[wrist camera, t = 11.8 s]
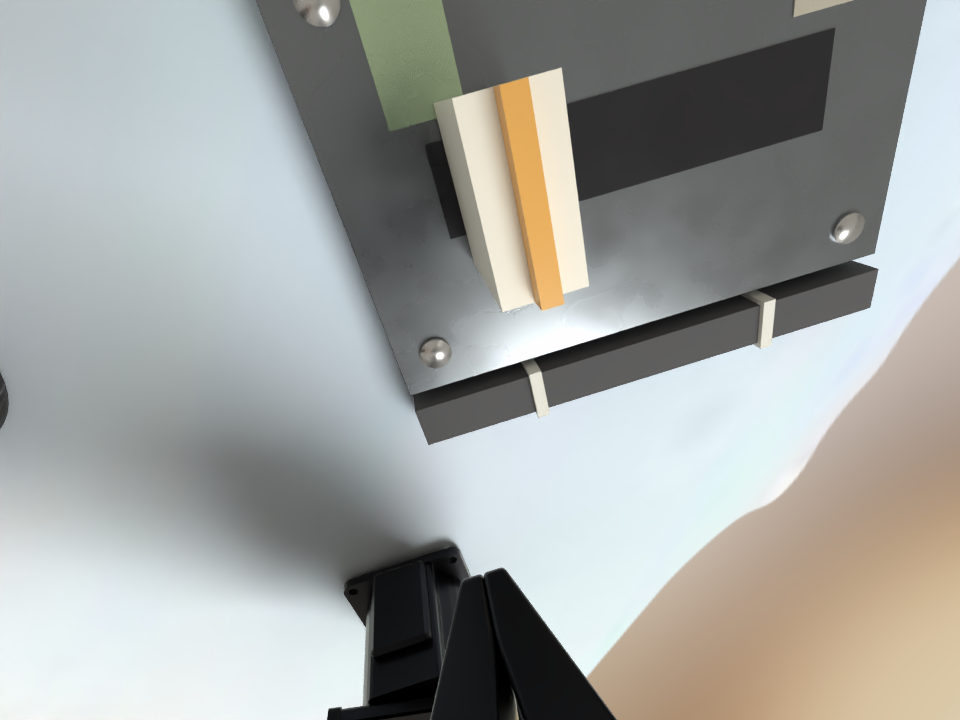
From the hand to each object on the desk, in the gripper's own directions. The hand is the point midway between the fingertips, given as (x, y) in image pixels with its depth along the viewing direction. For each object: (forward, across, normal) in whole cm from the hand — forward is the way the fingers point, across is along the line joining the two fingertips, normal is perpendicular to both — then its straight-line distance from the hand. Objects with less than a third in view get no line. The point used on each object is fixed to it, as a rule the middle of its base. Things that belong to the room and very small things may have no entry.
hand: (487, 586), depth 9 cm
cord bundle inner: (+12, -9, +3) cm, 15 cm away
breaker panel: (+11, -8, -6) cm, 15 cm away
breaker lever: (+10, -3, -6) cm, 12 cm away
